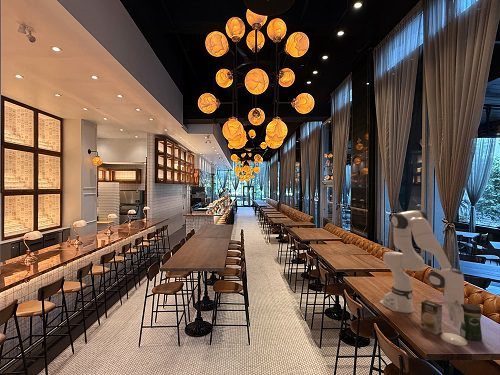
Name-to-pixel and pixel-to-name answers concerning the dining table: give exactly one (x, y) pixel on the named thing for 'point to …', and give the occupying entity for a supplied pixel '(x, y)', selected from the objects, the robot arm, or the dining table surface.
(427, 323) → the coffee box
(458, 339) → the cream glossy domed part
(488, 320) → the dining table surface
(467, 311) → the coffee jar
